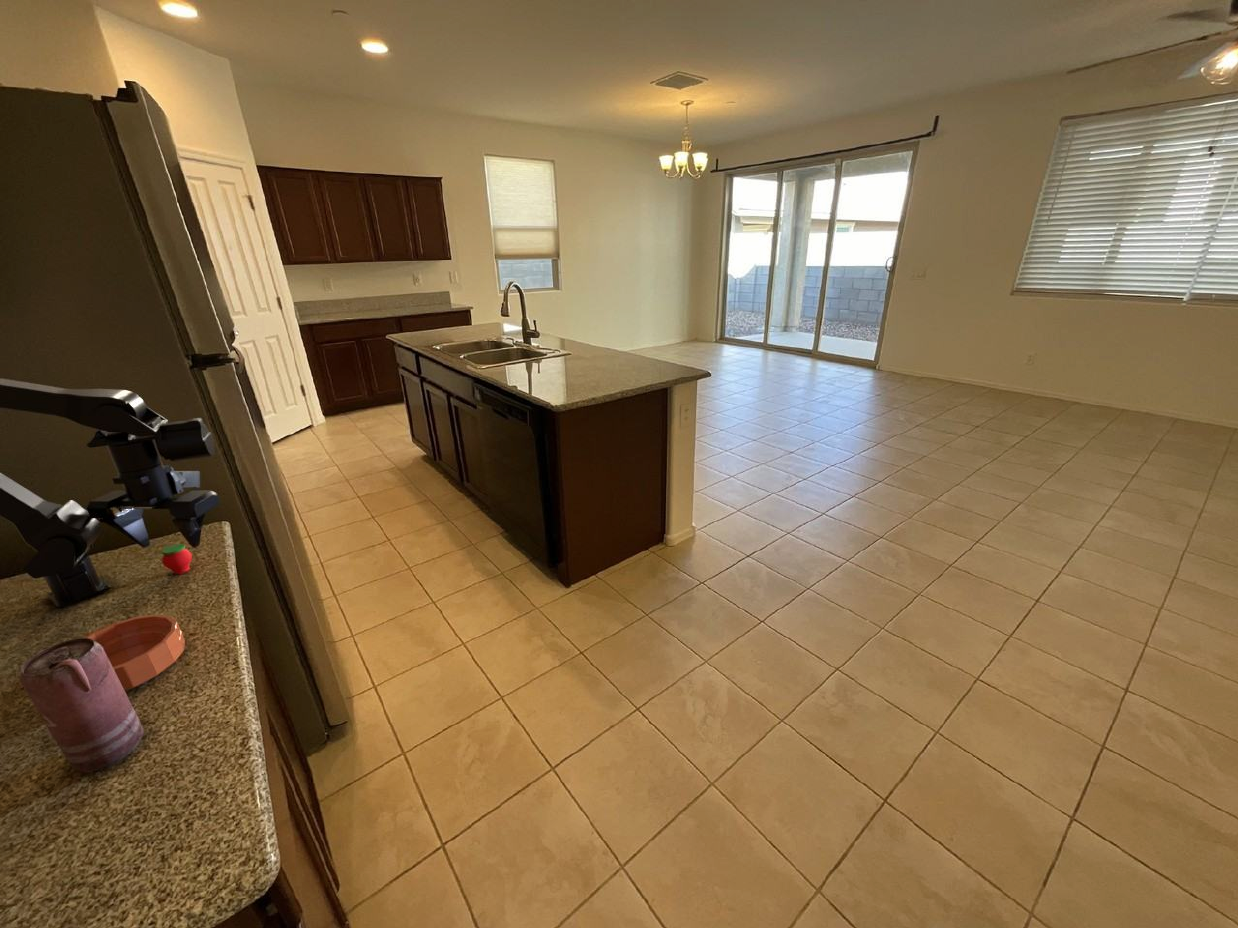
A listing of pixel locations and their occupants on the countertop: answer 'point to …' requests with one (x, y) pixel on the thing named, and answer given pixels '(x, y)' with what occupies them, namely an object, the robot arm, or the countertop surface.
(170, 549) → the strawberry
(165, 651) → the bowl
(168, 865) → the countertop surface
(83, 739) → the can
